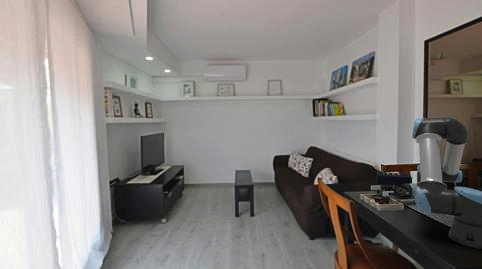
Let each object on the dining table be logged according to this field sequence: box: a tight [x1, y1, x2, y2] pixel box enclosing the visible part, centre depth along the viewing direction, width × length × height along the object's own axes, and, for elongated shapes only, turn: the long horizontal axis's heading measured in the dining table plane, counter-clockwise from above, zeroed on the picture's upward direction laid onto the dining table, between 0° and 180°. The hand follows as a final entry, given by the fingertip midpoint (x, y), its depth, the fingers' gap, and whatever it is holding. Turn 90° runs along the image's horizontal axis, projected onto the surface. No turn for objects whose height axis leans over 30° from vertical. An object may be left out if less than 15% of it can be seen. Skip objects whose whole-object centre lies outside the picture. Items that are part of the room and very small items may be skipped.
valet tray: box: [359, 193, 405, 212], centre depth 162 cm, size 22×15×4 cm
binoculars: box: [372, 185, 391, 204], centre depth 162 cm, size 9×11×10 cm
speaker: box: [375, 171, 413, 194], centre depth 184 cm, size 22×13×15 cm, turn 62°
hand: (376, 190), depth 162 cm, fingers open, 13 cm apart
